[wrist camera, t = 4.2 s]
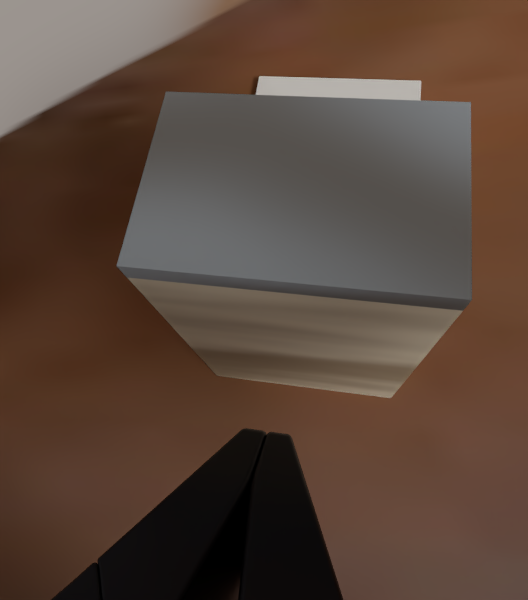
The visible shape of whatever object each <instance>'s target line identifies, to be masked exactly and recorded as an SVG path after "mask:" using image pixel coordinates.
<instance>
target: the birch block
mask: <svg viewBox="0 0 528 600" xmlns="http://www.w3.org/2000/svg"><path fill="white" fill-rule="evenodd" d="M117 267H118V268H119V269H120V270H121V271H122V273H123V274H124V275H125V276H126V277H127V278H128V279H129V280H130V281H131V282H132V284H133V285H134V286H135V287H136V288H137V289H138V290H139V291H140V292H141V293H142V294H143V296H144V297H145V298H146V299H147V300H148V301H149V302H150V303H151V304H152V305H153V306H154V308H155V309H156V310H157V311H158V312H159V313H160V314H161V315H162V316H163V317H164V318H165V320H166V321H167V322H168V323H169V324H170V325H171V326H172V327H173V328H174V329H175V331H176V332H177V333H178V334H179V335H180V336H181V337H182V338H183V339H184V340H185V341H186V343H187V344H188V345H189V346H190V347H191V348H192V349H193V350H194V351H195V352H196V353H197V355H198V356H199V357H200V358H201V359H202V360H203V361H204V362H205V363H206V364H207V365H208V367H209V368H210V369H211V370H212V371H213V372H214V373H215V374H216V375H217V376H223V377H231V378H238V379H246V380H254V381H262V382H269V383H277V384H285V385H293V386H301V387H308V388H316V389H324V390H332V391H340V392H347V393H355V394H363V395H371V396H379V397H386V398H391V397H392V396H393V395H394V394H395V392H396V391H397V390H398V389H399V388H400V386H401V385H402V384H403V383H404V382H405V380H406V379H407V378H408V377H409V375H410V374H411V373H412V372H413V371H414V369H415V368H416V367H417V366H418V365H419V363H420V362H421V361H422V360H423V358H424V357H425V356H426V355H427V354H428V352H429V351H430V350H431V349H432V348H433V346H434V345H435V344H436V343H437V342H438V340H439V339H440V338H441V337H442V335H443V334H444V333H445V332H446V331H447V329H448V328H449V327H450V326H451V325H452V323H453V322H454V321H455V320H456V318H457V317H458V316H459V315H460V314H461V312H462V311H463V310H464V309H465V308H466V306H467V305H468V304H469V303H470V301H471V300H472V241H471V102H447V101H419V100H390V99H361V98H333V97H304V96H276V95H247V94H219V93H190V92H166V94H165V97H164V101H163V104H162V108H161V111H160V115H159V118H158V122H157V125H156V129H155V132H154V136H153V139H152V143H151V147H150V150H149V154H148V157H147V161H146V164H145V168H144V171H143V175H142V178H141V182H140V185H139V189H138V192H137V196H136V199H135V203H134V206H133V210H132V213H131V217H130V220H129V224H128V227H127V231H126V234H125V238H124V241H123V245H122V249H121V252H120V256H119V259H118V263H117Z"/></svg>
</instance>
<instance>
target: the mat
mask: <svg viewBox="0 0 528 600" xmlns="http://www.w3.org/2000/svg"><path fill="white" fill-rule="evenodd" d="M256 95H276V96H304V97H333V98H361V99H390V100H419V101H420V97H421V81H410V80H375V79H340V78H305V77H269V76H259V80H258V85H257V90H256Z"/></svg>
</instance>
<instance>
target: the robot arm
mask: <svg viewBox="0 0 528 600" xmlns="http://www.w3.org/2000/svg"><path fill="white" fill-rule="evenodd" d="M51 600H343V597H342V594H341V591H340V588H339V585H338V581H337V578H336V575H335V572H334V569H333V566H332V563H331V559H330V556H329V553H328V550H327V547H326V544H325V541H324V537H323V534H322V531H321V528H320V525H319V522H318V519H317V515H316V512H315V509H314V506H313V503H312V500H311V497H310V493H309V490H308V487H307V484H306V481H305V478H304V475H303V471H302V468H301V465H300V462H299V459H298V456H297V453H296V449H295V446H294V443H293V440H292V438H291V436H290V435H288V434H282V433H275V432H269V433H268V434H267V435H266V432H264V431H261V430H254V429H247V428H246V429H242V430H241V431H240V432H239V433H238V434H236V435H235V436H234V437H233V438H232V439H231V440H230V441H229V442H228V443H226V444H225V445H224V446H223V447H222V448H221V449H220V450H219V451H218V452H216V453H215V454H214V455H213V456H212V457H211V458H210V459H209V460H207V461H206V462H205V463H204V464H203V465H202V466H201V467H200V468H199V469H197V470H196V471H195V472H194V473H193V474H192V475H191V476H190V477H189V478H187V479H186V480H185V481H184V482H183V483H182V484H181V485H180V486H179V487H177V488H176V489H175V490H174V491H173V492H172V493H171V494H170V495H168V496H167V497H166V498H165V499H164V500H163V501H162V502H161V503H160V504H158V505H157V506H156V507H155V508H154V509H153V510H152V511H151V512H150V513H148V514H147V515H146V516H145V517H144V518H143V519H142V520H141V521H140V522H138V523H137V524H136V525H135V526H134V527H133V528H132V529H131V530H129V531H128V532H127V533H126V534H125V535H124V536H123V537H122V538H121V539H119V540H118V541H117V542H116V543H115V544H114V545H113V546H112V547H111V548H109V549H108V550H107V551H106V552H105V553H104V554H103V555H102V556H101V557H99V558H98V564H97V563H92V564H91V565H90V566H89V567H88V568H87V569H86V570H85V571H83V572H82V573H81V574H80V575H79V576H78V577H77V578H76V579H75V580H73V581H72V582H71V583H70V584H69V585H68V586H66V587H65V588H64V589H63V590H62V591H61V592H59V593H58V594H57V595H56V596H55V597H54V598H52V599H51Z"/></svg>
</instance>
